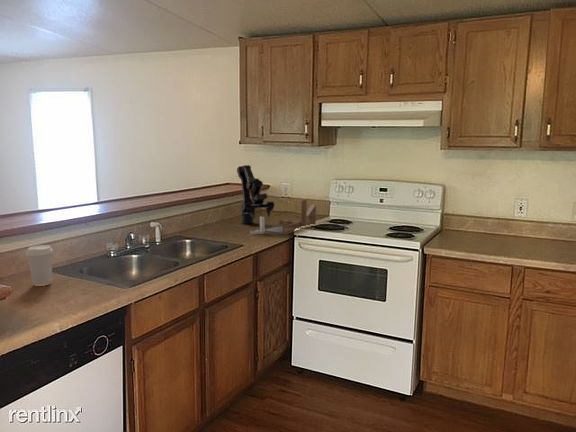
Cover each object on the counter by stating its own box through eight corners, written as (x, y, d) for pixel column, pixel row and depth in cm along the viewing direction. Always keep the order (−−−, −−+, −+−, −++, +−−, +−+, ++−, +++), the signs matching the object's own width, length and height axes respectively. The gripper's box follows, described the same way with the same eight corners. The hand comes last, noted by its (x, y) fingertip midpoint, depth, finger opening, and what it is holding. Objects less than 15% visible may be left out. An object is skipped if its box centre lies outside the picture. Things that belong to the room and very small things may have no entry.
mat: (263, 231, 295) (263, 230, 295) (280, 226, 310) (280, 225, 310) (284, 234, 286) (284, 233, 286) (301, 229, 301) (301, 228, 301)
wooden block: (315, 226, 311) (315, 199, 308) (303, 228, 304) (303, 200, 301) (311, 225, 314) (311, 198, 311) (299, 227, 307) (299, 199, 304)
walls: (263, 230, 295) (263, 223, 295) (280, 225, 310) (280, 219, 309) (284, 233, 286) (284, 226, 286) (301, 228, 301) (301, 222, 300)
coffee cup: (23, 286, 188) (19, 249, 186) (43, 279, 197) (40, 244, 194) (41, 289, 185) (38, 251, 182) (61, 282, 193) (58, 245, 191)
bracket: (250, 233, 289) (250, 217, 287) (262, 232, 292) (262, 216, 290) (252, 234, 285) (251, 218, 284) (264, 233, 288) (264, 217, 286)
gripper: (243, 189, 288) (249, 210, 279) (273, 188, 294) (279, 208, 286) (240, 201, 297) (245, 221, 288) (269, 199, 303) (275, 219, 294)
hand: (261, 217), depth 289 cm, fingers open, 9 cm apart
